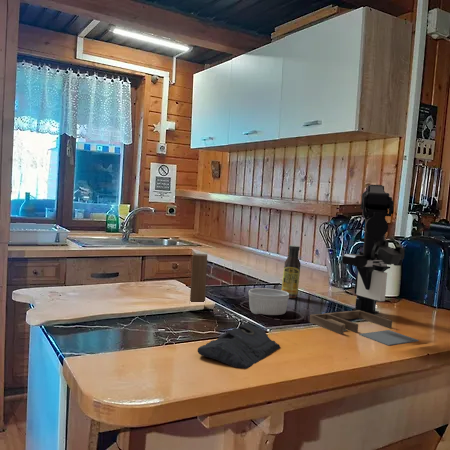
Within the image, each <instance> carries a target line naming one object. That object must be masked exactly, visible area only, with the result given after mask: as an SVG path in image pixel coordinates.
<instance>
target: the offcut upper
mask: <svg viewBox="0 0 450 450" xmlns="http://www.w3.org/2000/svg"><path fill="white" fill-rule="evenodd" d="M326 320H329V321H332V322H334V323H337V324H340V325H342V326H344V330H345V324H343V323H341V322H338V321H335V320H333V319H326Z"/></svg>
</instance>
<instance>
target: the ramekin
mask: <svg viewBox="0 0 450 450" xmlns="http://www.w3.org/2000/svg"><path fill="white" fill-rule="evenodd" d="M289 299H290V298H289V293H288V292H285V291H282V289H275V288H268V287H267V288H263V287H261V288H260V287H259V288H258V287H257V288H251V289H249V290H248V301H249V303H248V304H249V310H250V311H251V313H252V314H254V315H259V314H260V315H266V316H279V315H284V314H285V313H286V312H287V307H288V303H289Z"/></svg>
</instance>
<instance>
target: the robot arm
mask: <svg viewBox="0 0 450 450" xmlns="http://www.w3.org/2000/svg"><path fill="white" fill-rule="evenodd" d="M394 202H395V201H394V200H393V197H392V196H390V192H386V191H385V185H383V184H369V185H368V186H367V189H366V190H365V191H364V192H363V193H362V194H361V203H360V210H361V211H362V217H363V218H364V220H365V222H364V235H363V236H364V237H362V238H361V237H360V242H362V243H363V249H362V251H361V252H359V254H357V253H356V254H355V253H345V254H344V255H342V261H341V263H342V264H343V265H349V266H353V267H355V268H356V269H357V273H358V272H359V274H360V276H361V278H362V281H363V283H364V286H365V289H367V290H369V289H370V284H371V277H372V272H373V271H374V270H376V271H381V272H386V271H387V270H388V269H389V270H390V269H391V266H392V265H393V266H395V267H398V266H399V267H401V266H403V260H404V259H405V248H404V247H402V246H396V247H395V248H394V247H390V246H389V244H390V243H389V240H386V234H387V233H388V230H389V223H388V221H387V219H386V217H392V215H394V211H395V210H394V207H395V206H394V204H395V203H394ZM357 280H358V275H357V276H356V275H355V283H354V295H355V294H356V292H357ZM376 306H377V300H374V299H370V298H366V297H363V296H359V295H356V298H355V308H354V307H353V308H352V310H351V311H356V310H361V311H364V312H367V313H370V314H373V315H374V314H379V313H380V312H379V311H378V310H376V308H377V307H376Z"/></svg>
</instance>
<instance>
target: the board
mask: <svg viewBox="0 0 450 450" xmlns="http://www.w3.org/2000/svg"><path fill="white" fill-rule="evenodd" d="M357 276H358V280H357V289H356V290H357V292H356V296H357V295H359V296H363V297H366V298H370V299H374V300H376V302H377V301H378V302H385V301H386V293H387V279H388V272H386V271H384V272H381V271H376V270H374V271H373V272H372V277H371V284H370V289H369V290H367V289H365V286H364V283H363V281H362V278H361V276H360V274H359V272H358V271H357Z"/></svg>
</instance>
